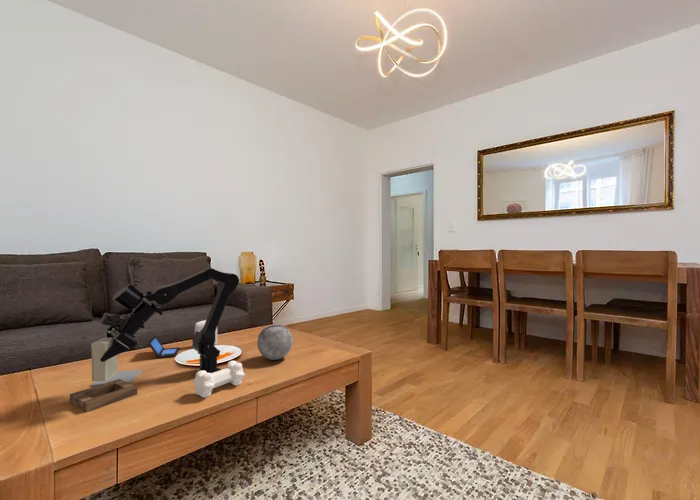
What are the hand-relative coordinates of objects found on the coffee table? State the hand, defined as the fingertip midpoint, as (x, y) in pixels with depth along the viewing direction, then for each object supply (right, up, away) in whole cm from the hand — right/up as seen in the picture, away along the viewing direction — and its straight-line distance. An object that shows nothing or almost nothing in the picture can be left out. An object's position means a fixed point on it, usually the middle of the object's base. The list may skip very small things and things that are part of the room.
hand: (99, 358), depth 107 cm
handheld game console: (-4, -13, +44) cm, 46 cm away
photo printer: (+10, -12, +57) cm, 59 cm away
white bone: (+35, -13, +8) cm, 38 cm away
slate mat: (-6, -13, +17) cm, 22 cm away
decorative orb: (+47, -13, +38) cm, 62 cm away
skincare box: (+1, -7, +1) cm, 7 cm away
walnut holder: (+1, -13, +1) cm, 13 cm away
